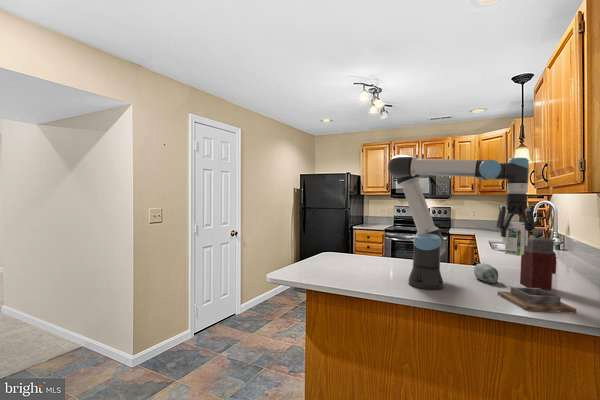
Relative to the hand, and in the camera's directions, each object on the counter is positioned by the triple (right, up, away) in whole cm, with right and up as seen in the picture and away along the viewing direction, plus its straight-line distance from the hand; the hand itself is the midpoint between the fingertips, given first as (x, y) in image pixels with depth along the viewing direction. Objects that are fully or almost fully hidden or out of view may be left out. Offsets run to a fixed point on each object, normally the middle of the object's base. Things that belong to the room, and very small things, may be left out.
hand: (514, 244), depth 137 cm
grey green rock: (-2, -21, +19) cm, 28 cm away
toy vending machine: (+18, -22, +10) cm, 30 cm away
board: (-1, -21, -13) cm, 25 cm away
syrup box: (0, -4, 0) cm, 4 cm away
